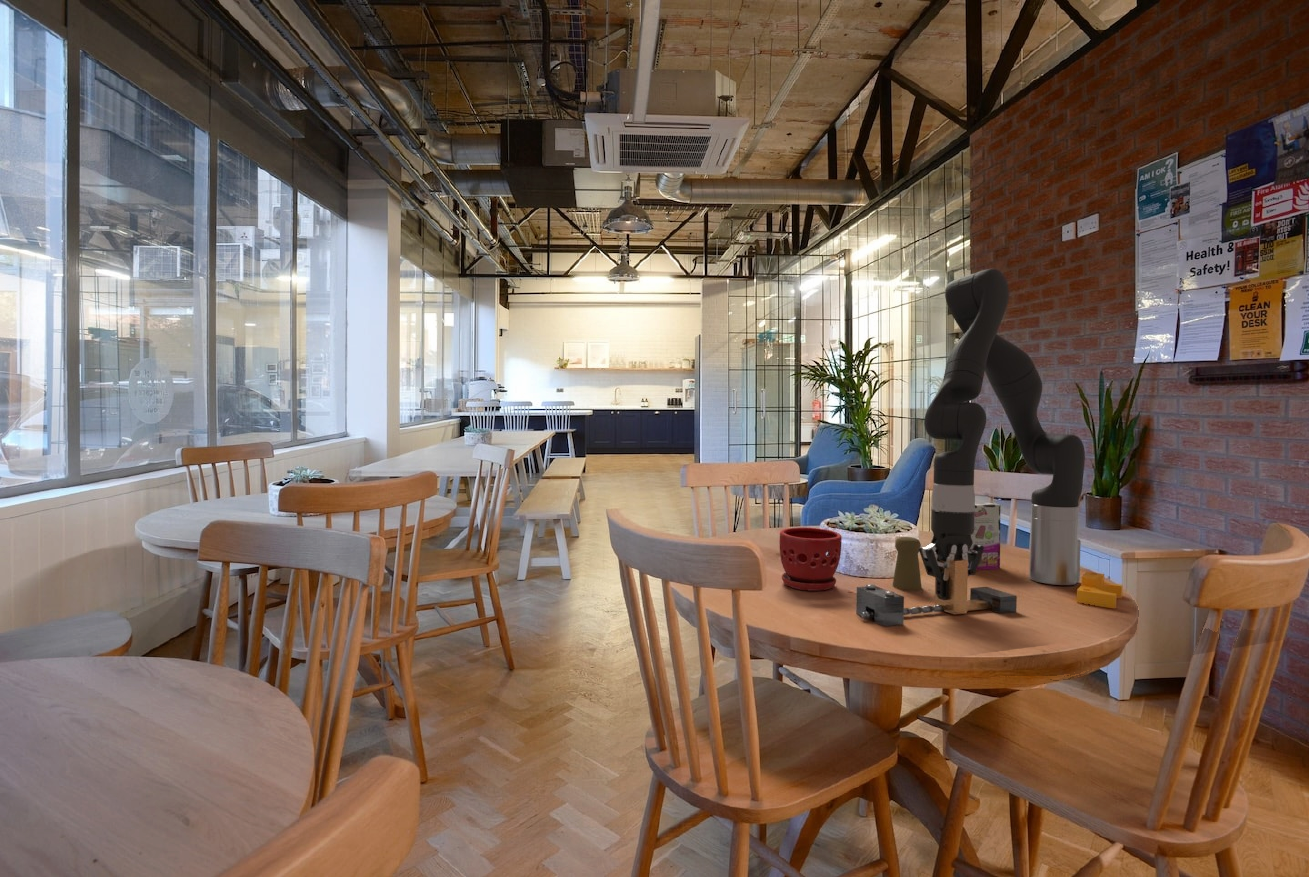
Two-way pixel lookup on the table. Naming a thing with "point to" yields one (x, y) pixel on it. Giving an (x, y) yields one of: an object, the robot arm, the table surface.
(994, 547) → the candy bar box
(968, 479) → the robot arm
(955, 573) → the tie-down chain
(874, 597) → the block
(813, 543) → the plant pot
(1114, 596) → the yellow stand
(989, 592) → the hook
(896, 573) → the olive keyhole shaped block
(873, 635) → the table surface
